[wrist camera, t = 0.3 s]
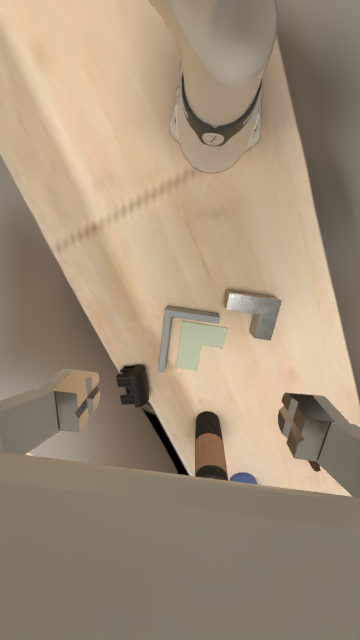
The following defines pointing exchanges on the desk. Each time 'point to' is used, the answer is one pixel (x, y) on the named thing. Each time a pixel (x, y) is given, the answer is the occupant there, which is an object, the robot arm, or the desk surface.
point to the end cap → (133, 385)
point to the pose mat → (197, 342)
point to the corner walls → (183, 314)
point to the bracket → (255, 311)
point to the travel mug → (209, 448)
